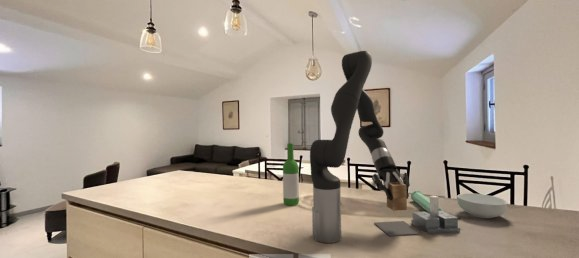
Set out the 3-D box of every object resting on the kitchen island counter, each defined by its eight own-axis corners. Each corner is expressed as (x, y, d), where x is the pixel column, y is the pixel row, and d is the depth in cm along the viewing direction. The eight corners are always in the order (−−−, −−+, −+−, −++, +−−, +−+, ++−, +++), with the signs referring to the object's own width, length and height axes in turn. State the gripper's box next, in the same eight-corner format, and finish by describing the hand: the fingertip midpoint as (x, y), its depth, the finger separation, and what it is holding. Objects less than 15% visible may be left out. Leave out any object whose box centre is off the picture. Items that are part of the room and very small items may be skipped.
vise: (427, 234, 89) (427, 200, 89) (411, 223, 99) (410, 193, 99) (470, 231, 90) (470, 198, 90) (450, 221, 100) (449, 192, 100)
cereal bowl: (459, 218, 104) (459, 200, 104) (455, 207, 118) (455, 191, 118) (513, 225, 96) (513, 206, 96) (502, 212, 111) (501, 195, 111)
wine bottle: (281, 205, 125) (280, 143, 125) (286, 201, 132) (285, 143, 132) (296, 206, 122) (295, 143, 122) (300, 202, 130) (299, 143, 130)
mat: (389, 236, 87) (389, 235, 87) (374, 223, 99) (374, 222, 99) (422, 234, 89) (422, 233, 89) (403, 221, 101) (403, 220, 101)
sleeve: (393, 210, 91) (393, 185, 91) (386, 206, 96) (386, 182, 96) (406, 209, 92) (406, 184, 92) (399, 205, 97) (399, 181, 97)
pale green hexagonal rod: (442, 204, 104) (419, 188, 128) (428, 209, 104) (408, 192, 129) (448, 217, 103) (424, 199, 128) (434, 222, 104) (413, 203, 129)
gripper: (368, 156, 101) (383, 194, 89) (403, 154, 102) (422, 192, 90) (363, 167, 106) (377, 205, 94) (396, 166, 108) (413, 203, 96)
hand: (399, 198), depth 92 cm, fingers closed on sleeve, 5 cm apart
